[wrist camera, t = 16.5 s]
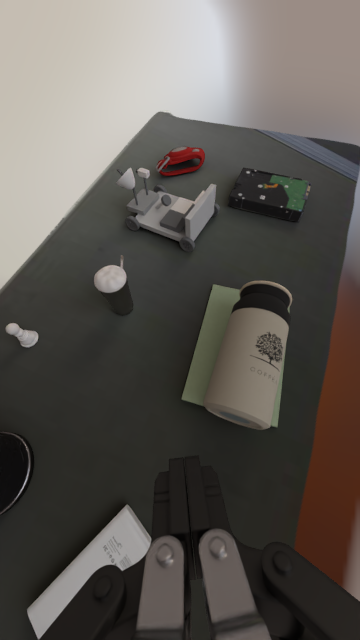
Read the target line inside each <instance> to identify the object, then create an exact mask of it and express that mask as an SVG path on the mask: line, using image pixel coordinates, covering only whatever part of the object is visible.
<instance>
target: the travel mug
mask: <svg viewBox="0 0 360 640" xmlns="http://www.w3.org/2000/svg"><path fill="white" fill-rule="evenodd" d="M239 296H240V300H239V301H238V302H236V303H235V304H234V306H233V309H232V312H231V315H230V318H229V322H228V325H227V328H226V331H225V334H224V338H223V341H222V344H221V347H220V350H219V354H218V357H217V360H216V363H215V366H214V370H213V373H212V376H211V379H210V382H209V386H208V389H207V392H206V395H205V398H204V402H203V405H204V406H205V408H206V409H207V410H208V411H209V412H211V413H213V414H215V415H216V416H219V417H221V418H223V419H226V420H228V421H231V422H233V423H236V424H239V425H242V426H246V427H249V428H254V429H259V430H263V429H267V428H270V425H271V420H272V415H273V409H274V404H275V399H276V393H277V388H278V383H279V378H280V372H281V367H282V362H283V356H284V351H285V346H286V341H287V335H288V330H289V325H290V319H291V317H290V314H289V312H288V310H287V309H288V307H289V306H290V305H291V303H292V296H291V294H290V292H289V291H288V290H287V289H286V288H284V287H283V286H281V285H279V284H277V283H274V282H269V281H253V282H249V283H247V284H245V285H244V286H243V287H242V288H241V289H240V292H239Z"/></svg>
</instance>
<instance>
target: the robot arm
mask: <svg viewBox="0 0 360 640" xmlns="http://www.w3.org/2000/svg"><path fill="white" fill-rule="evenodd" d="M33 467H34V456H33V451H32V448H31V446H30V444H29V443H28V441H27V440H26V439H25V438H24V437H22V436H21V435H19V434H16V433H10V432H5V431H0V515H2V514H4V513H5V512H7V511H8V510H9V509H11V508H12V507H13V506H14V505H15V504H16V503H17V502H18V501H19V499H20V498H21V497H22V495H23V494H24V492H25V491H26V489H27V487H28V485H29V483H30V480H31V477H32V473H33ZM185 468H186V476H185ZM186 479H187V484H186ZM187 489H188V494H187ZM188 500H189V504H188ZM189 510H190V515H189ZM190 521H191V526H190ZM191 532H192V537H191ZM192 540H193V548H194V557H195V565H196V574H197V579H201V578H202V582H203V591H204V599H205V608H206V614H207V620H208V626H209V631H210V637H211V640H271V639H272V640H360V601H358V600H357V599H356V598H354V597H353V596H352V595H351V594H349V593H348V592H347V591H346V590H344V589H343V588H342V587H341V586H339V585H338V584H337V583H336V582H334V581H333V580H332V579H330V578H329V577H328V576H327V575H326V574H324V573H323V572H322V571H320V570H319V569H318V568H317V567H315V566H314V565H313V564H312V563H310V562H309V561H308V560H307V559H305V558H304V557H303V556H302V555H300V554H299V553H298V552H296V551H295V550H294V549H293V548H291V547H290V546H288V545H286V544H284V543H281V542H272V543H270V544H268V545H267V546H266V547H265V548H264V549H263V550H259V549H255V548H251V547H248V546H246V545H244V544H242V543H241V542H239V541H238V540H237V539H236V538H235V536H234V535H233V533H232V531H231V529H230V526H229V522H228V517H227V513H226V509H225V505H224V501H223V497H222V493H221V489H220V485H219V481H218V476H217V473H216V472H215V471H214V469H213V468H212V467H211V466H205V467H200V461H199V455H197V456H189V457H185V467H184V459H183V457H182V458H175V459H169V471H167V472H160V473H159V475H158V477H157V479H156V481H155V486H154V504H153V522H152V538H151V544H150V547H149V549H148V551H147V553H146V554H145V555H144V557H143V558H142V559H141V560H140V561H138V562H137V563H135V564H134V565H132V566H130V567H128V568H127V569H125V570H123V571H122V570H121V569H120V568H119V567H117V566H115V565H105V566H103V567H101V568H99V569H98V570H96V571H95V572H94V573H93V574H92V575H91V576H90V578H89V579H88V580H87V581H86V582H85V584H84V585H83V586H82V587H81V589H80V590H79V591H78V592H77V594H76V595H75V596H74V597H73V598H72V600H71V601H70V602H69V603H68V605H67V606H66V607H65V608H64V609H63V611H62V612H61V613H60V614H59V616H58V617H57V618H56V619H55V621H54V622H53V623H52V624H51V625H50V627H49V628H48V629H47V630H46V632H45V633H44V634H43V635H42V636H41V638H40V639H39V640H192V637H191V586H190V580H195V569H194V558H193V548H192Z"/></svg>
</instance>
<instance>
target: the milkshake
mask: <svg viewBox="0 0 360 640" xmlns="http://www.w3.org/2000/svg"><path fill="white" fill-rule="evenodd" d="M94 283H95V286H96V288H97V289H98V290H99V291H100V292H101V294H102V295H103V296H104V297H105V298H106V300H107V301H108V302H109V304H110V305H111V306H112V308H113V309H114V310H115V312H116V313H117V314H119V315H122V316H123V315H127V314H129V313H130V312H131V311H132V310H133V301H132V297H131V293H130V289H129V285H128V281H127V276H126V273H125V271H124V270H123V256H122V255H121V265H120V267H118V266H115V265H110V266H106V267H103V268H102V269H100V270H99V271H98V272H97V273H96V274H95V277H94Z"/></svg>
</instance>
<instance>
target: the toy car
mask: <svg viewBox="0 0 360 640" xmlns="http://www.w3.org/2000/svg"><path fill="white" fill-rule="evenodd" d="M117 171H118V172H119V173H120V174H121V176H122V177H121V178H120V179H119V180H118V181H117V183H116V184H117V185H119V186H121V187H123V188H125V189H133V193H134V198H133V199H132V200H131V202H130V203H129V204H128V205H127V209H128V210H129V211H132V212H135V213H137V214H138V215H137V216H136V217H133V216H128V217H127V218H126V220H125V222H126V225H127V226H128V227H129V228H130V229H131V230H133V231H137V230H138V229H139V228H140V227H142V228H145V229H148V230H150V231H153V232H156V233H158V234H161V235H163V236H166V237H169V238H171V239H174V240H176V241H179V244H180V246H181V248H182V249H183V250H185V251H187V252H192V251H193V250H194V248H195V243H194V240H195V239H196V238H197V236H198V235H199V233H200V232H201V230H202V229H203V228H204V226H205V225H206V223H207V222H208V220H209V219H210V218H211V216H212V217H215V216H217V215H218V213H219V212H220V208H219V205H218V204H217V203H216V202H215V193H216V185H213V184H211V185H210V186H209V187H208V189H207V190H206V191H205V192H204V191H202V192H201V194H200V195H199V196H198V198H197V199H196V200H195V201H191V200H188V199H185V198H181V197H177V196H173V195H170V194H167V190H166V188H165V187H164V186H163V185H161V184H158V185H156V186H155V187H154V192H152V191H149V190H148V189H147V183H146V178H148V177H149V176H150V173H149V170H146V169H143V168H139V169H136V173H138V176H141V177H143V178H144V183H145V189H142V190H141V191H140V192H139V193H138V194H137V195H136V192H135V179H134V175H133V172H132V169H131V168H130V169H128V170H127V171H126V172H125V173H124V174H123V173H122V172H121V171H120V170H119V169H117Z"/></svg>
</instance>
